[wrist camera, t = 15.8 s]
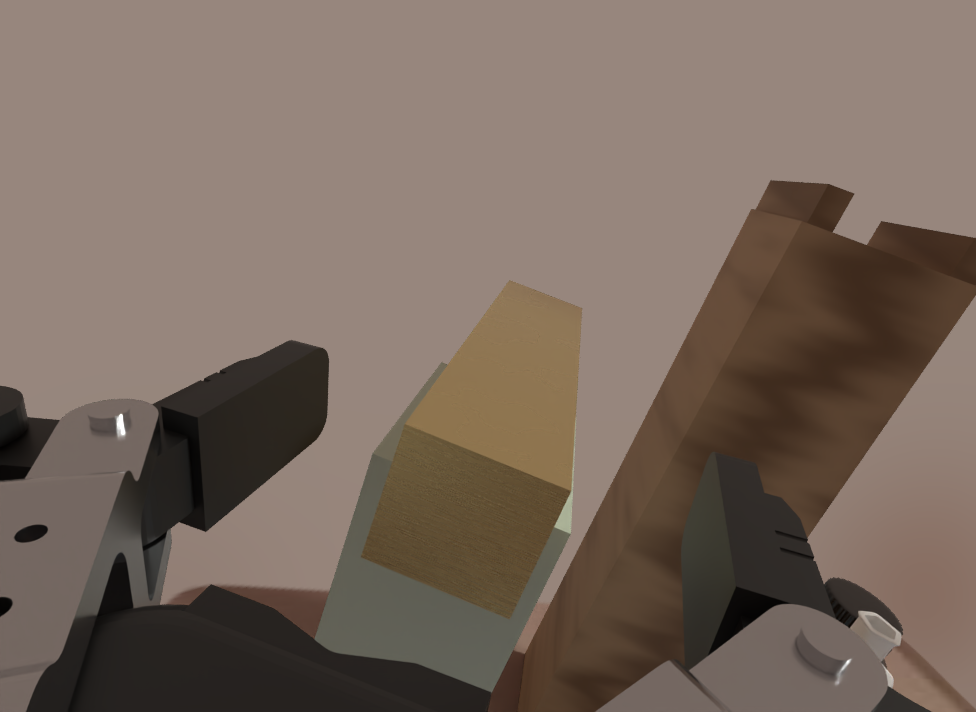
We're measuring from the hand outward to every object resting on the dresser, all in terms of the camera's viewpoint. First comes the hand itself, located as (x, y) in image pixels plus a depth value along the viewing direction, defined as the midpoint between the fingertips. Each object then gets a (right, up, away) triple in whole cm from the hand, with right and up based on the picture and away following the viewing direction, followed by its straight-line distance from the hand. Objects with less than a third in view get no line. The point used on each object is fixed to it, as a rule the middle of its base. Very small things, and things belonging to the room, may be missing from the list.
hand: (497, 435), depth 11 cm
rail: (0, -1, +8) cm, 8 cm away
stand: (+5, -22, +24) cm, 33 cm away
